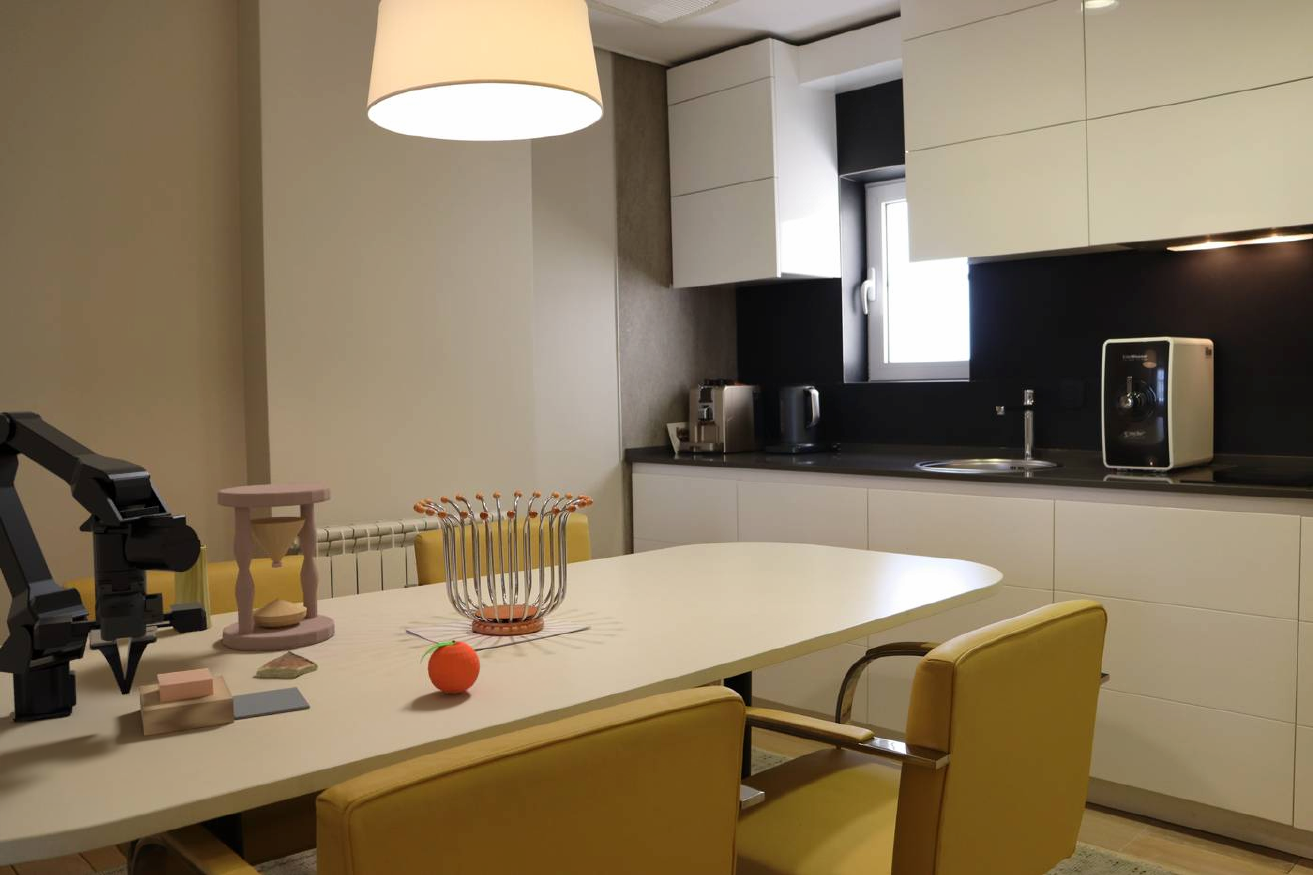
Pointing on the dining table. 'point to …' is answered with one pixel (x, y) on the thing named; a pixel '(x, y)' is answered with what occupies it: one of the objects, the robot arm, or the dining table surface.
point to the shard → (287, 666)
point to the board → (185, 709)
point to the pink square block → (184, 684)
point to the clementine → (453, 667)
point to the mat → (268, 703)
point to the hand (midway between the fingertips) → (125, 693)
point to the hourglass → (275, 535)
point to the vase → (194, 585)
